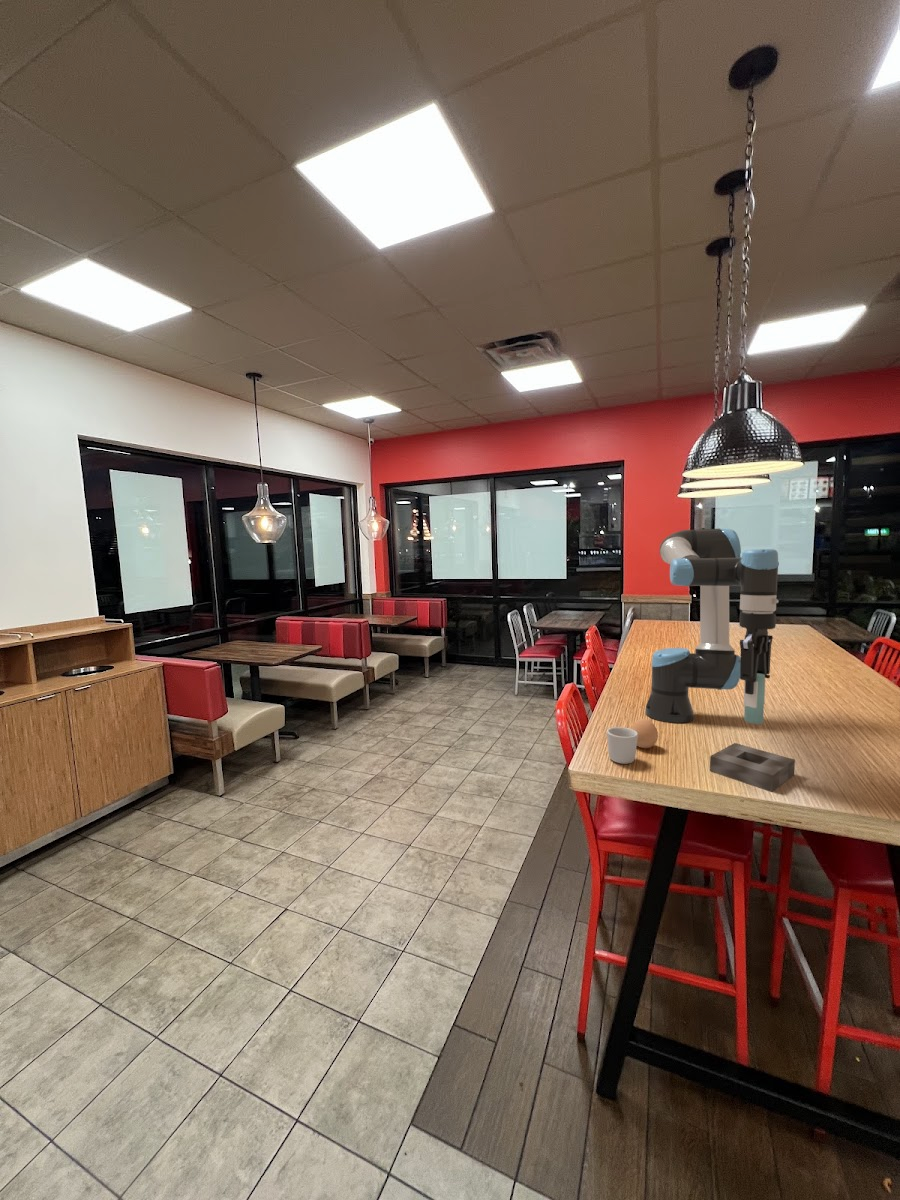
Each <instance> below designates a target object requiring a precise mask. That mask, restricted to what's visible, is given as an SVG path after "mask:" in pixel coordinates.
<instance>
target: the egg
mask: <svg viewBox="0 0 900 1200" xmlns="http://www.w3.org/2000/svg"><path fill="white" fill-rule="evenodd" d="M656 727H657V726H656V725H655V724H654V723H653V722H652V721H651V720H650V719H649V718H643V717H641V718H639V719H637V720H635V722H634V723H633V724H632V726H631V728H630V729H632V730H635V731H636V732H637V733H638V739H637V747H639V748H640V749H649V748H651V747H653V746H654V745H656V743H657V741H658V740H659V738H658V737H659V733H658V728H656Z"/></svg>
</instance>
